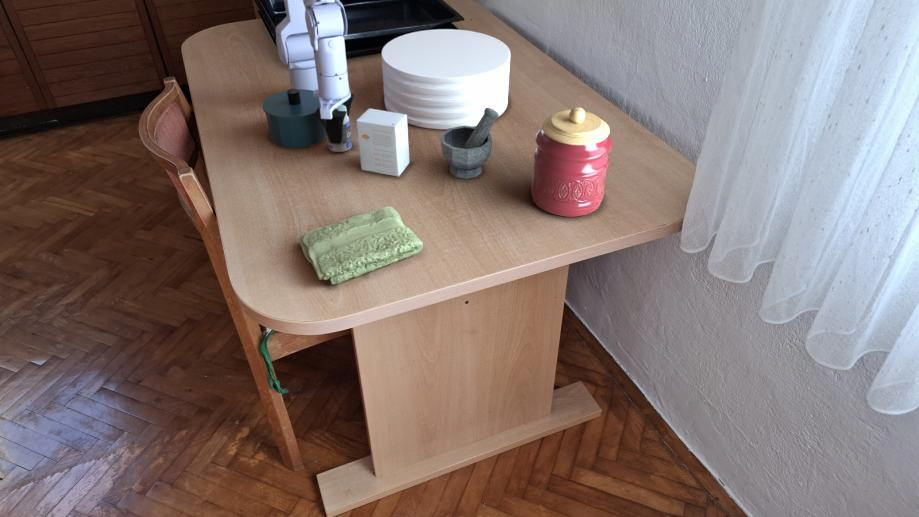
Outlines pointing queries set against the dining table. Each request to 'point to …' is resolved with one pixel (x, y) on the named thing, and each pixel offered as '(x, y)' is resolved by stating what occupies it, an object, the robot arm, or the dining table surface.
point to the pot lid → (291, 104)
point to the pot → (296, 131)
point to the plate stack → (445, 77)
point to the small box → (383, 142)
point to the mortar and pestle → (468, 146)
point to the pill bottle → (346, 136)
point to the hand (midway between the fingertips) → (339, 136)
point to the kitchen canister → (571, 163)
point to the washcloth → (359, 245)
